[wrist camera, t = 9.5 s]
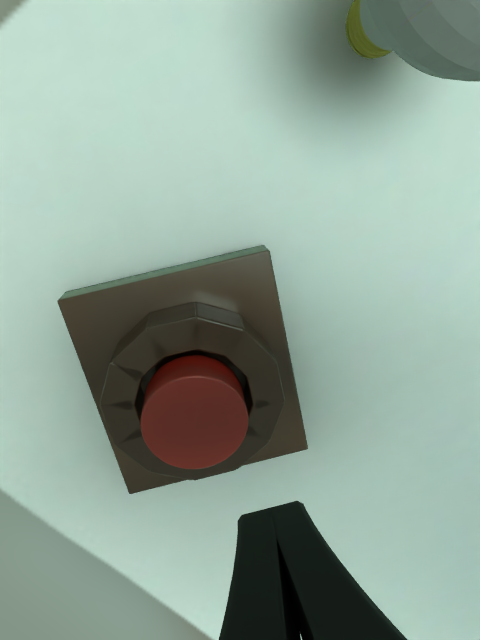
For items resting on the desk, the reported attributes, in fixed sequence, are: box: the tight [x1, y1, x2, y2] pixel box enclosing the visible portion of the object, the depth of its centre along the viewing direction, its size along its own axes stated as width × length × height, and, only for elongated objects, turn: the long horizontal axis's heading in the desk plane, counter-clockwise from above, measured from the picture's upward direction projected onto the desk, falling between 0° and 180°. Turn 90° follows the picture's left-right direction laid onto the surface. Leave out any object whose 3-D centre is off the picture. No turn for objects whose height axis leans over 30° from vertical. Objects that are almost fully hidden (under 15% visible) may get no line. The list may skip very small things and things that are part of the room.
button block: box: [58, 245, 308, 494], centre depth 18 cm, size 9×8×3 cm
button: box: [140, 355, 248, 469], centre depth 16 cm, size 4×4×2 cm
